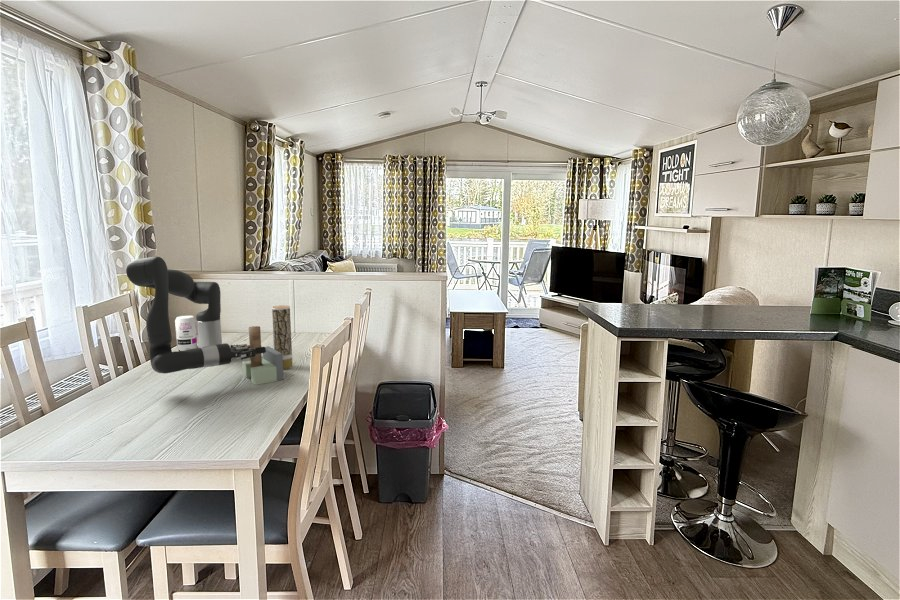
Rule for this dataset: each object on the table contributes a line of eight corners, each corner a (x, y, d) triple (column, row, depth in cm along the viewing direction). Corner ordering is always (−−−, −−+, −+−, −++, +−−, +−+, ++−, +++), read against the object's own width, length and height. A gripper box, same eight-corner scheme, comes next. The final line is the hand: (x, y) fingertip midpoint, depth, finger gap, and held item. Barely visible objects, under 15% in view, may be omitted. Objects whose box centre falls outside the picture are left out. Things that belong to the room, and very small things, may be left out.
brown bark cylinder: (287, 370, 211) (284, 308, 207) (271, 369, 213) (268, 307, 209) (295, 365, 218) (293, 305, 214) (280, 364, 219) (277, 305, 215)
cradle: (243, 375, 204) (242, 361, 204) (263, 371, 209) (263, 358, 208) (255, 385, 194) (254, 370, 193) (276, 380, 199) (276, 366, 198)
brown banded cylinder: (249, 373, 201) (247, 327, 198) (260, 371, 203) (258, 325, 200) (253, 376, 198) (250, 328, 195) (263, 374, 200) (261, 327, 197)
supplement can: (191, 346, 248) (188, 314, 245) (200, 348, 243) (198, 316, 241) (173, 349, 241) (171, 317, 239) (183, 352, 237) (180, 319, 234)
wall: (263, 371, 209) (262, 347, 208) (270, 370, 211) (268, 346, 209) (276, 380, 199) (275, 354, 197) (283, 379, 200) (282, 353, 198)
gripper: (220, 349, 184) (269, 342, 195) (209, 341, 195) (256, 335, 206) (221, 370, 185) (270, 362, 196) (210, 361, 196) (257, 353, 207)
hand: (262, 348), depth 201 cm, fingers closed on brown banded cylinder, 4 cm apart
